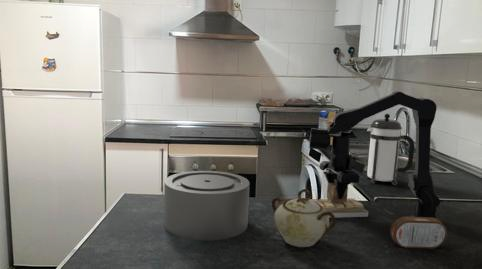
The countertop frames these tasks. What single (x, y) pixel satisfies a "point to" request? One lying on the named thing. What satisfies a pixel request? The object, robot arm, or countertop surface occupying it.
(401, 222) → the tin
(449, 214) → the countertop surface
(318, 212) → the sugar bowl
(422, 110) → the robot arm
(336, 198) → the brown wooden cube
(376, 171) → the coffee press
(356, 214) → the dock
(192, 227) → the container
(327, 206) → the pallet
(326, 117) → the beverage box
